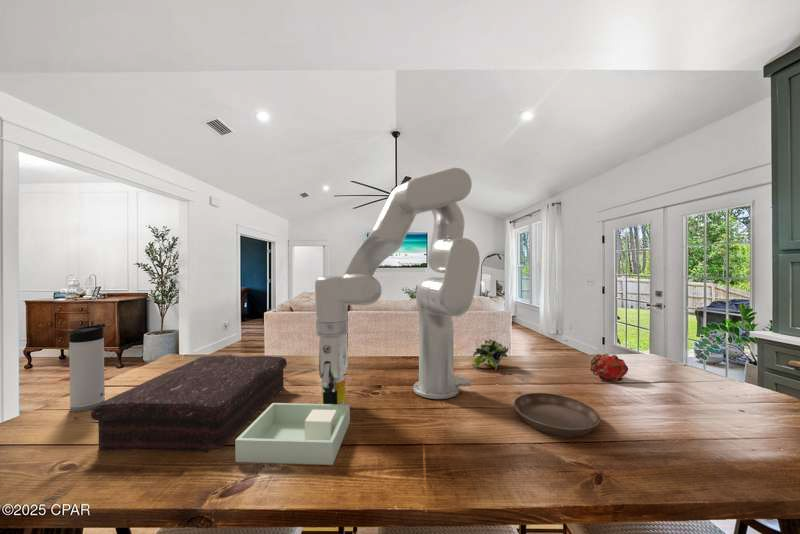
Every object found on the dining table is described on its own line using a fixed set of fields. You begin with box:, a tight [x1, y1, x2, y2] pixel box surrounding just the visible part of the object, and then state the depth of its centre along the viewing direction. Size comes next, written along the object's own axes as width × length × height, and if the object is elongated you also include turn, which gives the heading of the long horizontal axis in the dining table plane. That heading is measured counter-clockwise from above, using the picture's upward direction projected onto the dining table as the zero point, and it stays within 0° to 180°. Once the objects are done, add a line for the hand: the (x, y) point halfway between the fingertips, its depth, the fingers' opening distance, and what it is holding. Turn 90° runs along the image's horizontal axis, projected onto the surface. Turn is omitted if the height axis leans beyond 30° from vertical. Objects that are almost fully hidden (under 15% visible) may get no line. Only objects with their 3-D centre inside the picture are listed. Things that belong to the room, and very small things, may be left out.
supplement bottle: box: [320, 374, 346, 404], centre depth 80 cm, size 6×6×10 cm
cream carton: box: [305, 409, 337, 440], centre depth 66 cm, size 5×5×5 cm
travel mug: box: [68, 323, 106, 413], centre depth 83 cm, size 6×7×20 cm
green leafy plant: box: [472, 339, 509, 372], centre depth 113 cm, size 11×11×12 cm
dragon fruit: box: [589, 353, 629, 382], centre depth 102 cm, size 8×8×12 cm
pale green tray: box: [234, 402, 351, 466], centre depth 66 cm, size 17×15×4 cm
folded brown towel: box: [90, 355, 288, 453], centre depth 79 cm, size 34×26×10 cm
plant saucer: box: [513, 392, 601, 438], centre depth 76 cm, size 18×18×3 cm
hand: (333, 401), depth 80 cm, fingers closed on supplement bottle, 5 cm apart
